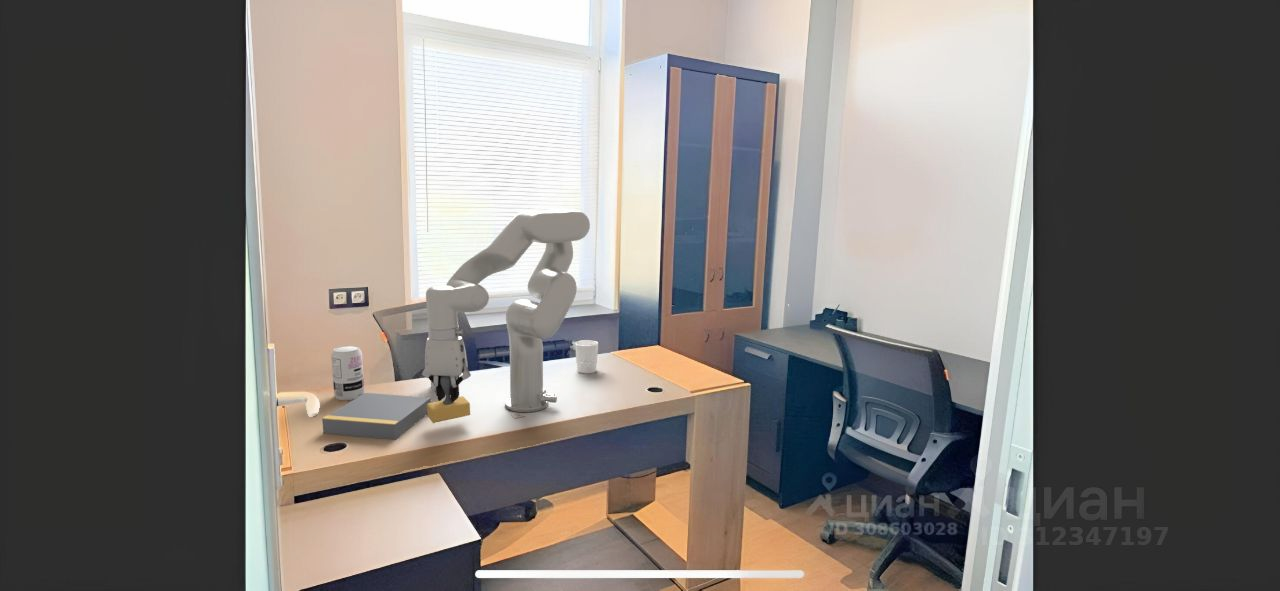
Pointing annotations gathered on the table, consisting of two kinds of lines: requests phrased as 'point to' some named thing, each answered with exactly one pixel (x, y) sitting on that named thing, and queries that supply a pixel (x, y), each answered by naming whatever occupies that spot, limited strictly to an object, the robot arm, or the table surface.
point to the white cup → (586, 356)
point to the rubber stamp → (447, 405)
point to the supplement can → (347, 372)
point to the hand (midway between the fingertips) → (448, 398)
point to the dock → (376, 416)
